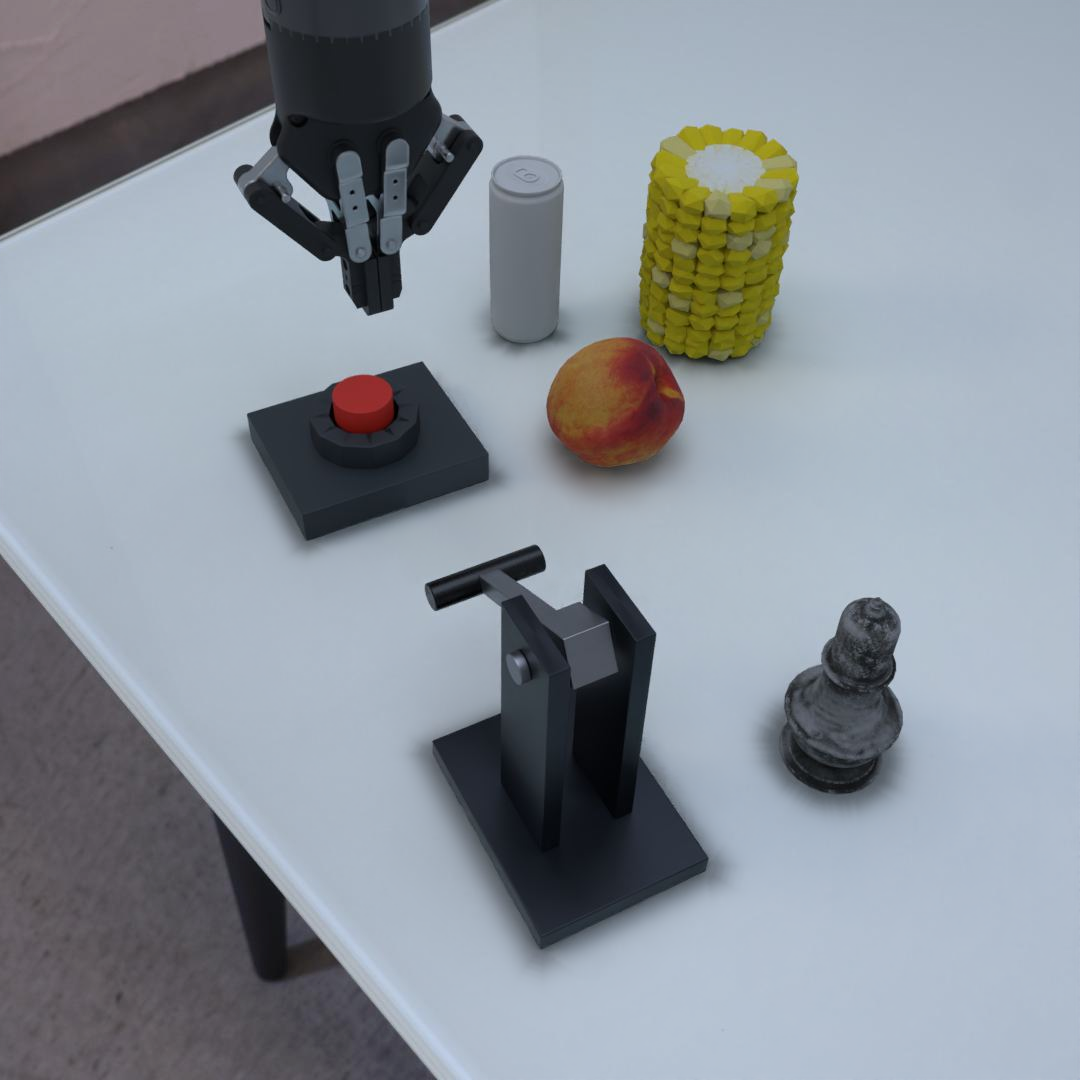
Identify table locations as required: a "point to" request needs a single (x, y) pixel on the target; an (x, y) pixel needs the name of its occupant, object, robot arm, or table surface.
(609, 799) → the bracket
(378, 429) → the button
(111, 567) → the table surface
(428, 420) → the control block
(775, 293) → the food
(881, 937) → the table surface
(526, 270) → the beverage can
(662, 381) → the fruit
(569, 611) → the lever
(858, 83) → the table surface
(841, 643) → the black chess piece
